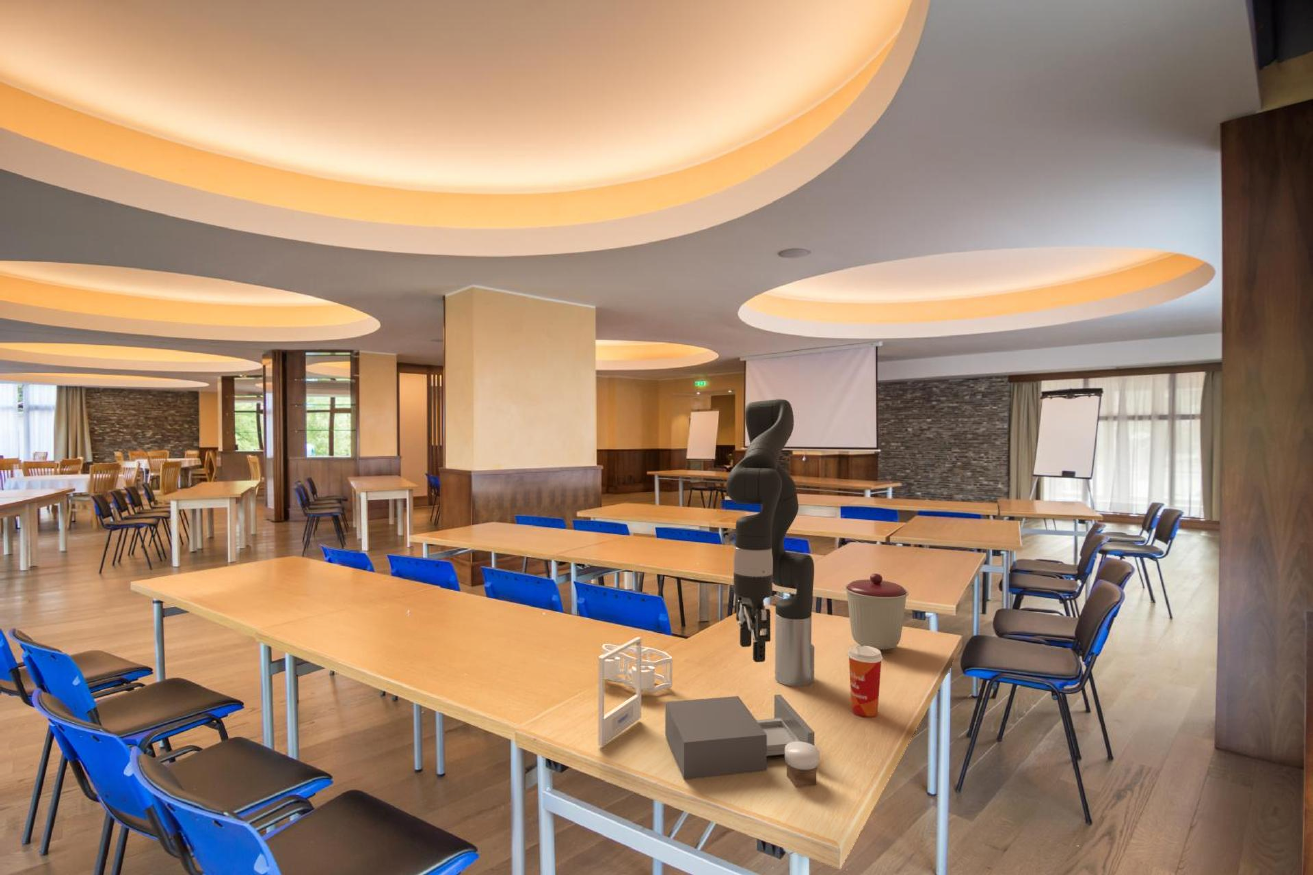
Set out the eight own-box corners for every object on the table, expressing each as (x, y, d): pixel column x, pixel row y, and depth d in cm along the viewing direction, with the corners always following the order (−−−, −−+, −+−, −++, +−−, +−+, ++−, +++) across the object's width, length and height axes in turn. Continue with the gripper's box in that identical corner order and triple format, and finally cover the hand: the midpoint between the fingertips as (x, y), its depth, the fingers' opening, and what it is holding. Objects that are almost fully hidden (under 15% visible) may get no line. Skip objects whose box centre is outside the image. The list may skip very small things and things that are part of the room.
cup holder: (589, 678, 161) (589, 649, 161) (618, 665, 169) (618, 638, 169) (650, 699, 148) (650, 668, 148) (677, 684, 157) (677, 655, 157)
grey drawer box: (738, 728, 134) (738, 695, 134) (766, 771, 117) (766, 734, 117) (665, 734, 131) (665, 701, 131) (683, 780, 114) (684, 742, 114)
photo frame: (602, 746, 126) (603, 658, 126) (598, 745, 127) (598, 657, 126) (641, 717, 139) (642, 637, 138) (637, 716, 139) (637, 636, 139)
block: (806, 774, 116) (807, 753, 116) (816, 787, 112) (816, 765, 112) (786, 777, 115) (786, 755, 115) (795, 789, 112) (795, 767, 111)
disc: (809, 750, 117) (809, 739, 117) (824, 767, 111) (824, 756, 111) (779, 753, 116) (779, 742, 116) (792, 771, 110) (792, 759, 110)
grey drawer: (782, 722, 136) (782, 694, 136) (816, 764, 119) (816, 731, 119) (715, 728, 133) (715, 699, 133) (741, 771, 116) (741, 739, 116)
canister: (855, 630, 199) (855, 564, 199) (915, 641, 188) (915, 572, 188) (835, 646, 184) (836, 575, 184) (898, 659, 174) (899, 584, 173)
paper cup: (841, 704, 146) (842, 644, 146) (873, 703, 146) (874, 644, 146) (855, 719, 138) (855, 657, 138) (888, 718, 139) (889, 656, 138)
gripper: (784, 578, 115) (783, 666, 115) (759, 562, 129) (758, 640, 129) (745, 579, 114) (744, 667, 114) (724, 563, 128) (723, 642, 128)
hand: (751, 653), depth 121 cm, fingers open, 8 cm apart
